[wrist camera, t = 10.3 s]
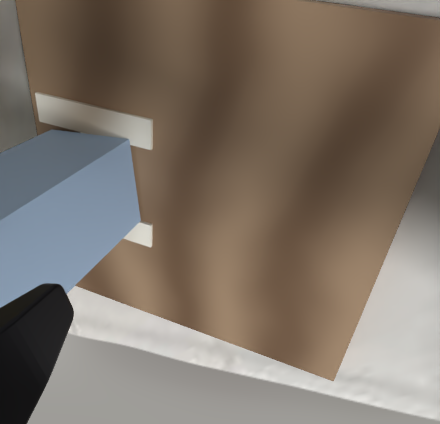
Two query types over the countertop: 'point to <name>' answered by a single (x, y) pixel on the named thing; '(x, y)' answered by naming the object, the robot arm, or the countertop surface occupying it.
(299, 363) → the board
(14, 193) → the light blue block
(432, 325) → the countertop surface
